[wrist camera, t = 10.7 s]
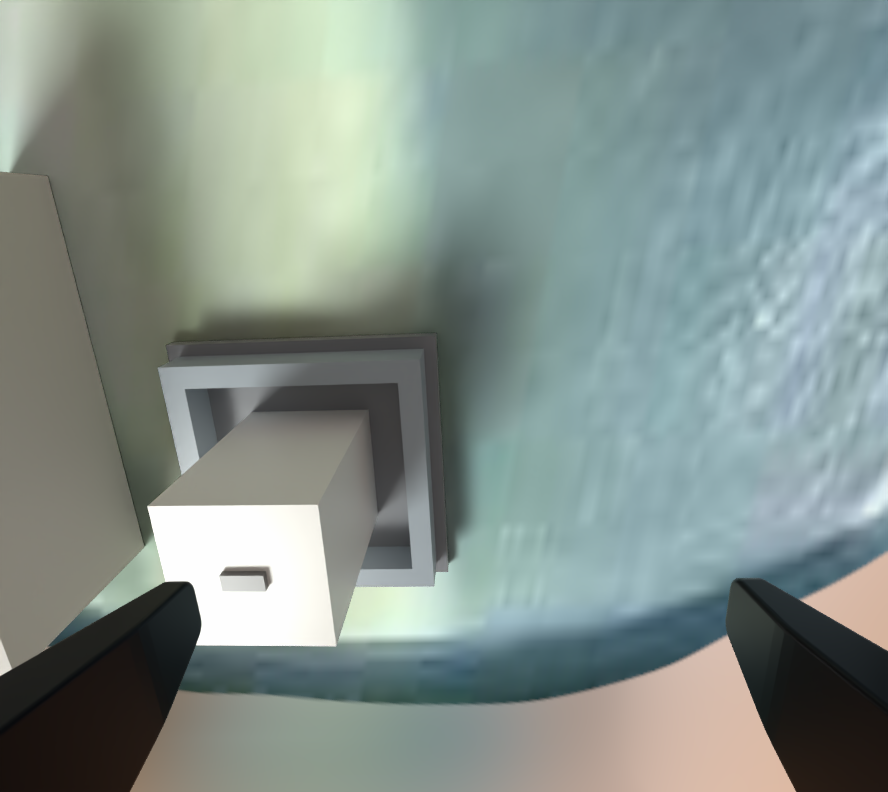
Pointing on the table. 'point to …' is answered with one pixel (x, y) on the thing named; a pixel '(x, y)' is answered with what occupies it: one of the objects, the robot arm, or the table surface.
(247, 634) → the block
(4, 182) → the wall stub
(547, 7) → the table surface
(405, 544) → the frame
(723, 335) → the table surface
